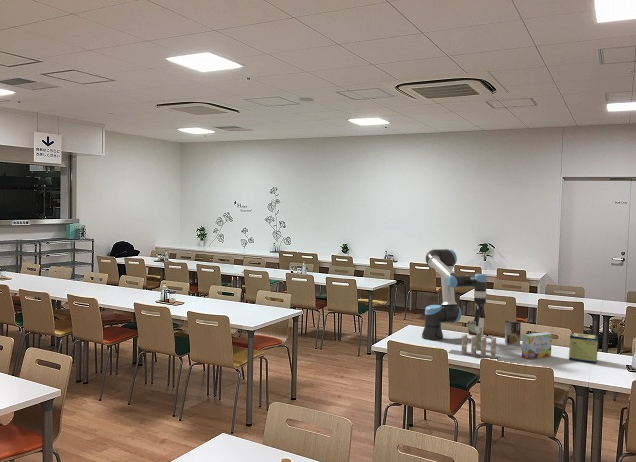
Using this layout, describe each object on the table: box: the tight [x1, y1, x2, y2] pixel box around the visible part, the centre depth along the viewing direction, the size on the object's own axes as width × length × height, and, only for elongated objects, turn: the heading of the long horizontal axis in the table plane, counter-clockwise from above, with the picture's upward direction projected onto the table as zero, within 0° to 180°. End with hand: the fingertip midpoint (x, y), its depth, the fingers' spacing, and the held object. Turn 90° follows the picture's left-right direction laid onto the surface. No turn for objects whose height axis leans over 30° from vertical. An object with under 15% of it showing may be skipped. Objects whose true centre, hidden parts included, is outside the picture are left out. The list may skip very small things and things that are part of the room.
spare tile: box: [476, 331, 482, 351], centre depth 350 cm, size 2×5×12 cm, turn 151°
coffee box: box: [504, 320, 521, 346], centre depth 368 cm, size 9×6×16 cm
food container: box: [466, 320, 483, 336], centre depth 395 cm, size 12×6×10 cm, turn 47°
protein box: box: [568, 332, 599, 365], centre depth 331 cm, size 10×16×16 cm
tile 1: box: [490, 337, 497, 359], centre depth 330 cm, size 2×5×12 cm, turn 151°
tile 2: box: [480, 336, 487, 357], centre depth 333 cm, size 2×5×12 cm, turn 151°
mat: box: [447, 349, 501, 361], centre depth 336 cm, size 31×11×1 cm, turn 61°
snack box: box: [521, 331, 553, 360], centre depth 335 cm, size 21×6×15 cm, turn 117°
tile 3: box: [470, 335, 477, 356], centre depth 336 cm, size 2×5×12 cm, turn 150°
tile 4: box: [461, 333, 468, 355], centre depth 338 cm, size 2×5×12 cm, turn 151°
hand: (479, 329), depth 349 cm, fingers open, 13 cm apart
